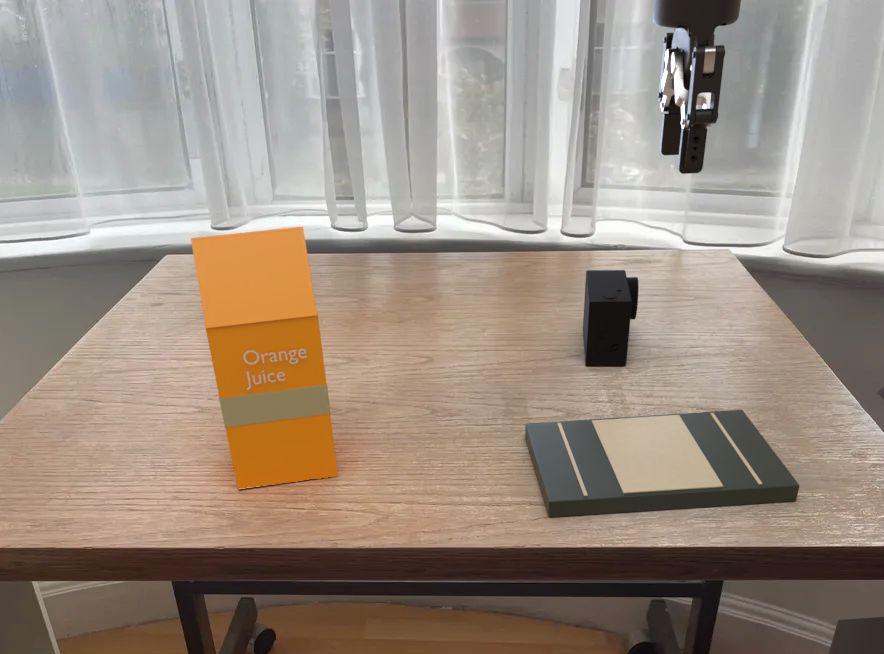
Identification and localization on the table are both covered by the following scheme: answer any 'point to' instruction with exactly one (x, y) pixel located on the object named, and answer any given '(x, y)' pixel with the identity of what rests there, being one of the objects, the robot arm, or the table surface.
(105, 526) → the table surface
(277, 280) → the orange juice
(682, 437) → the board
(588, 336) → the digital camera
